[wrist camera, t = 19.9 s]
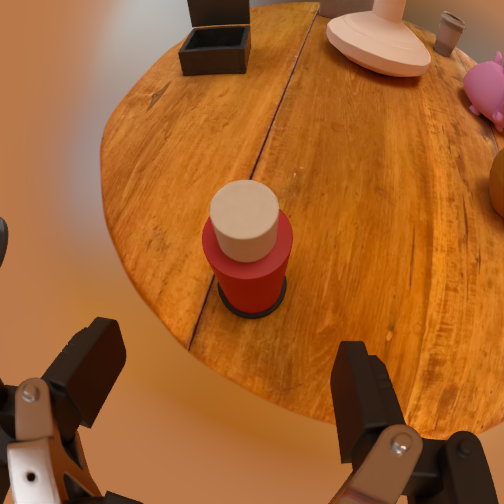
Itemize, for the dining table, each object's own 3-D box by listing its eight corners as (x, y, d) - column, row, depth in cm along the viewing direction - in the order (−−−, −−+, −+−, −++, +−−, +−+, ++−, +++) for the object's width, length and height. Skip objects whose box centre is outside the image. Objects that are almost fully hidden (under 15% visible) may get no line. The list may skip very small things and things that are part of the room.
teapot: (455, 73, 42) (472, 32, 30) (503, 105, 39) (524, 69, 28) (458, 115, 36) (486, 63, 24) (515, 156, 33) (548, 114, 21)
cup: (446, 60, 44) (461, 23, 33) (425, 45, 46) (437, 9, 35) (456, 58, 46) (470, 25, 34) (437, 44, 48) (448, 11, 37)
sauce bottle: (212, 282, 25) (170, 204, 13) (255, 247, 26) (250, 149, 14) (249, 325, 24) (236, 282, 12) (293, 287, 25) (321, 211, 13)
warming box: (245, 73, 39) (244, 48, 34) (183, 76, 39) (178, 52, 35) (251, 46, 42) (250, 25, 38) (196, 49, 43) (193, 28, 39)
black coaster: (215, 316, 25) (214, 314, 24) (223, 253, 27) (221, 249, 27) (283, 320, 25) (284, 319, 24) (286, 256, 27) (287, 252, 26)
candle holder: (320, 68, 39) (333, -34, 21) (327, 29, 46) (335, -45, 28) (432, 102, 37) (470, 14, 19) (414, 53, 44) (435, -14, 26)
